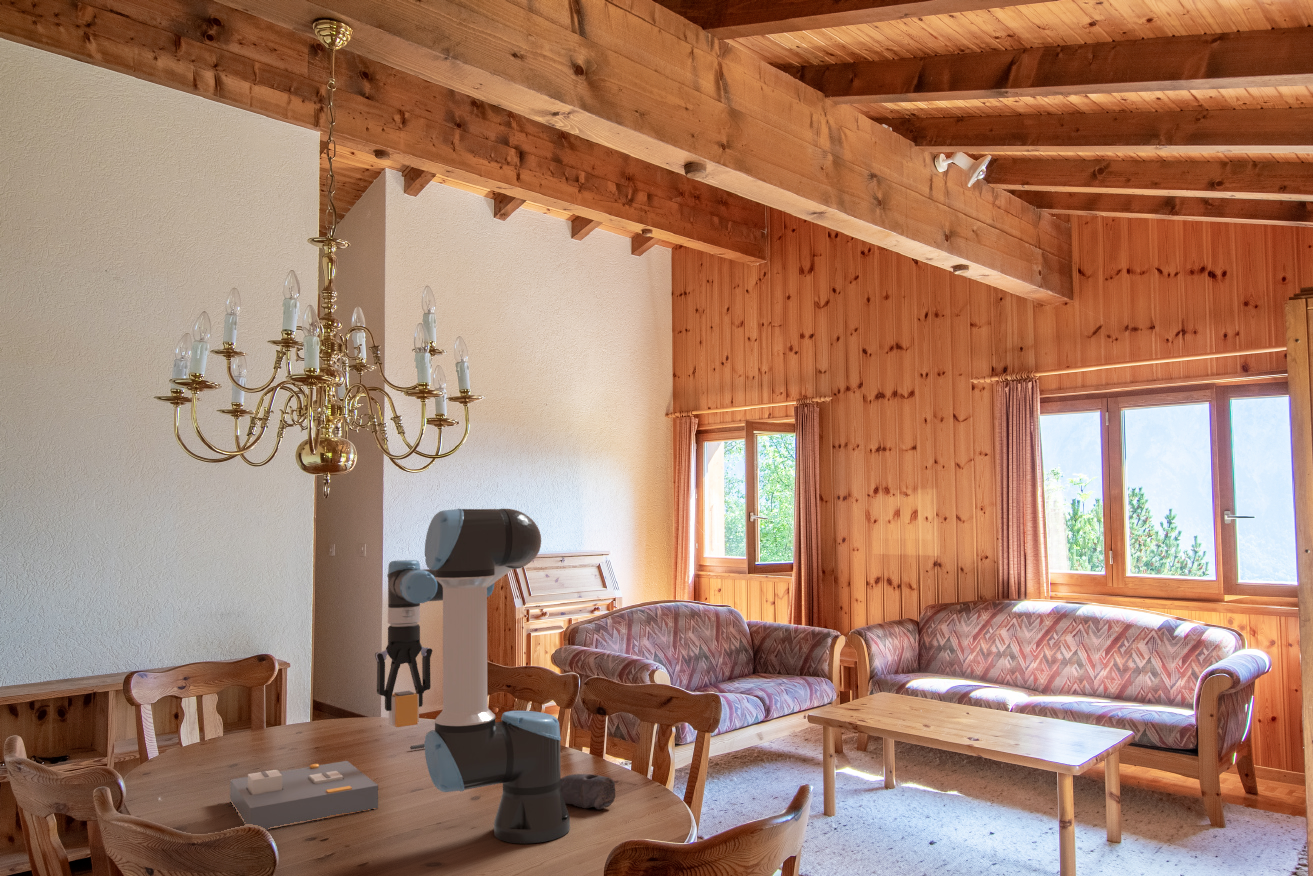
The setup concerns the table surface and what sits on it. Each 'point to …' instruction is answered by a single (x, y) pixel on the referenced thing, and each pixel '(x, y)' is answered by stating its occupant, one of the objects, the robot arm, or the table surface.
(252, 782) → the breaker untagged
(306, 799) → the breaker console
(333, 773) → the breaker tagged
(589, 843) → the table surface
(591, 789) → the perforated stone tool
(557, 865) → the table surface
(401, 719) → the cap
